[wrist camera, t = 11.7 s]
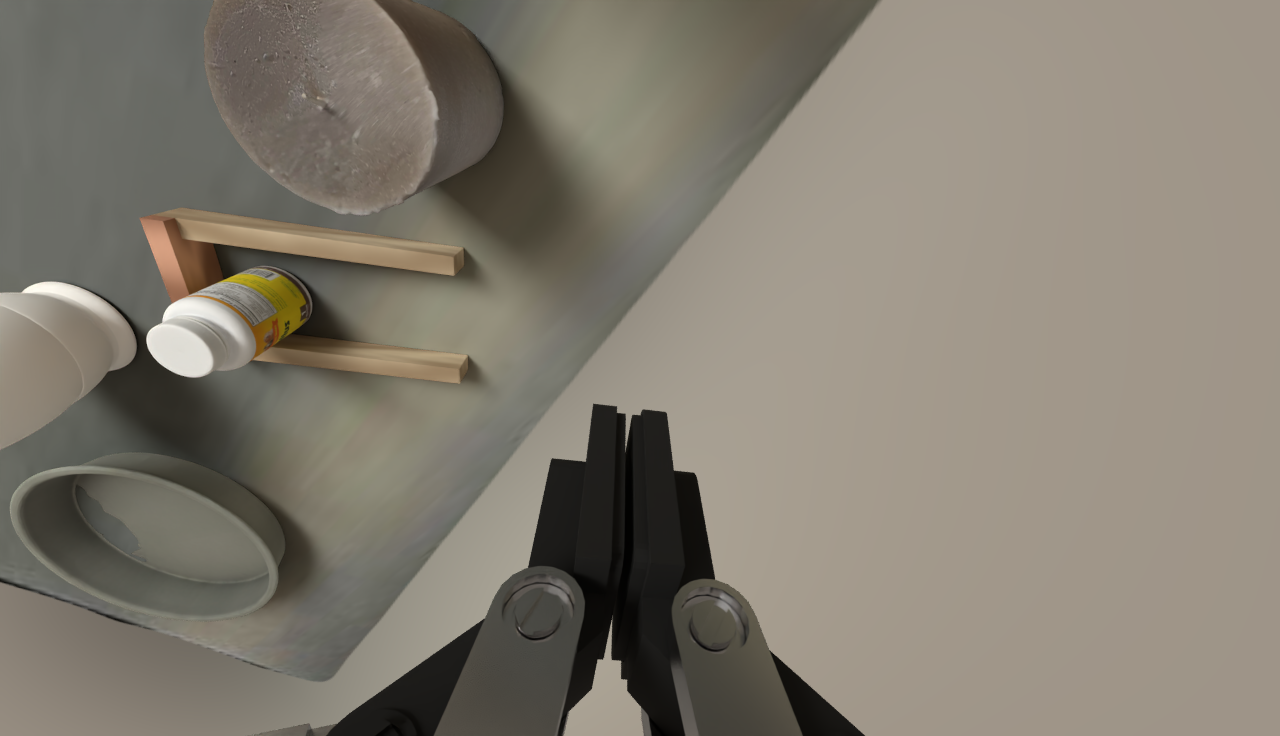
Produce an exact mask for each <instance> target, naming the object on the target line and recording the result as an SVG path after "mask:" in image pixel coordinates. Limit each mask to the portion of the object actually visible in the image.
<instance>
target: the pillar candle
mask: <svg viewBox="0 0 1280 736" xmlns="http://www.w3.org/2000/svg"><path fill="white" fill-rule="evenodd" d="M204 47H205V53H204V58H205V61H204V63H205V70H206V75H207V79H208V83H209V86H210V89H211V92H212V95H213V98H214V101H215V102H216V105H217V107H218V109H219V112H220V114H221V116H222V118H223V120H224V121H225V123H226V125H227V127H228V128H229V129H230V131H231V133H232V134H233V136H234V137H235V139H236V140H237V141H238V142H239V144H240V145H241V146H242V148H243V149H244V150H245V151H246V153H247V154H248V155H249V157H250V158H251V159H252V160H253V161H254V162H255V163H256V164H257V165H258V166H259V167H261V168H262V169H263V170H264V171H265V172H266V173H268V175H270V176H271V177H272V178H274V179H275V180H276V181H277V182H278V183H280V184H281V185H283V186H284V187H286V188H287V189H289V190H290V191H292V192H293V193H295V194H296V195H298V196H300V197H302V198H304V199H305V200H308V201H310V202H313V203H316V204H317V205H320V206H323V207H326V208H329V209H331V210H333V211H334V212H336V213H339V214H342V215H345V214H346V215H347V214H349V213H352V214H354V215H359V216H360V215H366V216H367V215H370V214H371V213H372V212H376V213H379V212H380V211H381V210H384V209H387V208H389V207H392V206H394V205H399V204H401V203H404V200H406V199H408V198H409V197H411V196H413V195H415V194H417V193H419V192H421V191H423V190H425V189H427V188H429V187H431V186H433V185H435V184H437V183H439V182H441V181H443V180H445V179H447V178H449V177H451V176H453V175H455V174H457V173H459V172H461V171H463V170H465V169H466V168H468V167H470V166H472V165H474V164H476V163H477V162H479V161H480V160H481V159H483V158H484V156H485V155H486V154H487V153H488V152H489V150H490V149H491V148H492V147H493V145H494V144H495V142H496V140H497V137H498V135H499V132H500V130H501V126H502V122H503V113H504V100H503V95H502V86H501V83H500V79H499V77H498V74H497V72H496V69H495V67H494V65H493V63H492V61H491V59H490V57H489V56H488V54H487V53H486V51H485V50H484V48H483V47H482V46H481V44H480V43H479V42H478V40H477V38H476V36H475V35H474V34H473V33H472V32H471V31H470V30H468V29H467V28H466V27H465V26H464V25H462V24H461V23H460V22H458V21H457V20H455V19H454V18H451V17H449V16H448V15H446V14H444V13H442V12H440V11H436V10H433V9H431V8H428V7H426V6H424V5H421V4H418V3H415V2H413V1H412V0H214V1H213V6H212V8H211V10H210V15H209V18H208V20H207V25H206V26H205V32H204Z"/></svg>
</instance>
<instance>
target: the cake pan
mask: <svg viewBox="0 0 1280 736" xmlns="http://www.w3.org/2000/svg"><path fill="white" fill-rule="evenodd" d="M76 484H77V485H78V486H80V487H81V488H83V489H84V490H86V493H87V495H88V496H89V497H91V498H93V499H95V500H97V501H98V502H99V503H100V505H101V506H102V508H103V510H104V512H106V513H108V514H110V515H112V516H114V517H116V518H118V519H120V520H121V521H122V522H123V523H124V524H125V525H126V526H127V527H128V529H129V530H130V531H131V532H132V533H133V534H134V535H135V537H136V538H137V539H138V540H139V543H138V546H139V547H141V548H140V549H138V550H136V551H135V552H133V553H131V554H133V555H136V556H139V557H142V558H144V559H146V562H142V561H139V560H137V559H135V558H133V557H132V556H130V555H128V554H126V553H124V552H123V551H121V550H120V549H118V548H117V547H115V546H114V545H112V544H111V543H110V542H108V541H107V540H106V539H105V538H104V537H103V534H101V533H99V532H97V531H96V530H95V529H94V528H93V526H92V525H90V524H89V523H88V521H87V520H86V519H85V517H84V515H83V514H82V512H81V510H80V508H79V506H78V503H77V499H76V492H75V489H76ZM10 515H11V520H12V523H13V526H14V528H15V530H16V532H17V534H18V536H19V538H20V539H21V541H22V542H23V543H24V545H25V546H26V547H27V548H28V549H29V550H30V552H31V553H32V554H33V555H34V556H35V557H36V558H37V559H38V560H39V561H40V562H42V563H43V564H44V565H45V566H46V567H47V568H49V569H50V570H51V571H53V572H54V573H55V574H57V575H58V576H60V577H61V578H63V579H64V580H66V581H67V582H69V583H71V584H72V585H74V586H76V587H78V588H80V589H81V590H83V591H85V592H87V593H89V594H91V595H93V596H95V597H98V598H100V599H102V600H104V601H107V602H109V603H112V604H114V605H117V606H120V607H123V608H126V609H129V610H132V611H136V612H139V613H143V614H147V615H151V616H156V617H161V618H167V619H174V620H182V621H198V622H209V621H222V620H229V619H234V618H238V617H242V616H245V615H248V614H250V613H252V612H255V611H256V610H258V609H260V608H261V607H263V606H264V605H265V604H266V603H268V601H269V600H270V599H271V598H272V597H273V595H274V593H275V591H276V589H277V585H278V566H279V564H280V562H281V560H282V558H283V555H284V552H285V538H284V534H283V531H282V528H281V526H280V524H279V522H278V521H277V519H276V518H275V516H274V515H273V513H272V512H271V511H270V510H269V509H268V508H267V507H266V505H265V504H263V503H262V502H261V501H260V500H259V499H258V498H257V497H256V496H255V495H253V494H252V493H251V492H250V491H248V490H247V489H245V488H244V487H242V486H241V485H239V484H238V483H236V482H234V481H233V480H231V479H229V478H228V477H226V476H224V475H222V474H220V473H218V472H216V471H213V470H211V469H209V468H206V467H204V466H201V465H199V464H196V463H193V462H189V461H186V460H183V459H179V458H175V457H170V456H165V455H160V454H152V453H138V452H132V453H117V454H111V455H107V456H103V457H100V458H97V459H95V460H93V461H90V462H88V463H85V464H83V465H77V466H66V467H60V468H55V469H51V470H47V471H44V472H41V473H38V474H36V475H34V476H32V477H30V478H29V479H27V480H26V481H24V482H23V483H22V484H21V485H20V486H19V487H18V488H17V490H16V491H15V492H14V494H13V496H12V499H11V503H10Z"/></svg>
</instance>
